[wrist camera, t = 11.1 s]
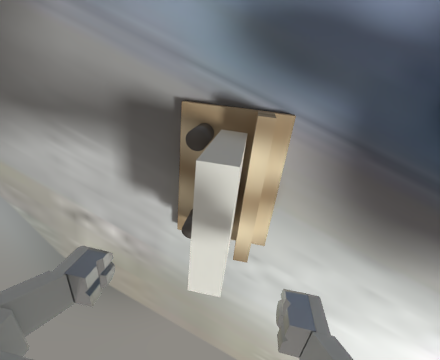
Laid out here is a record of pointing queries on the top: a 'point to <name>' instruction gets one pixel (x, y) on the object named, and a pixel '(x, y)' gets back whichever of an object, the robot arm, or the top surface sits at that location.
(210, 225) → the white rectangular block
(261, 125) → the tan pegged board
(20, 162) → the top surface
